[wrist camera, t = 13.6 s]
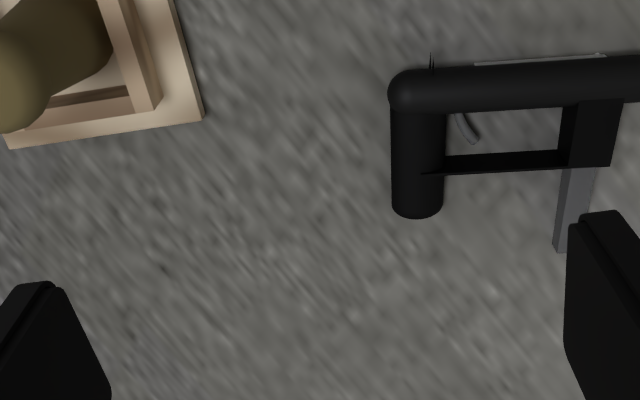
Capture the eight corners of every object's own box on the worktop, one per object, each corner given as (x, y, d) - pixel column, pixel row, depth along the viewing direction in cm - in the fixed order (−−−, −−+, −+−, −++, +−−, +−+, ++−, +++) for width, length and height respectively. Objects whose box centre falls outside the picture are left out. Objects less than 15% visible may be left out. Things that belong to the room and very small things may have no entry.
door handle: (664, 255, 44) (728, 42, 36) (391, 267, 46) (388, 65, 37) (645, 228, 47) (700, 25, 38) (388, 241, 48) (384, 46, 40)
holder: (-80, -67, 36) (-120, -58, 33) (142, -110, 35) (122, -106, 32) (17, 142, 43) (-9, 165, 40) (205, 113, 42) (194, 135, 39)
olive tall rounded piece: (94, -27, 36) (8, 19, 27) (127, 70, 39) (61, 142, 30) (0, -9, 37) (-116, 43, 27) (41, 85, 40) (-52, 160, 30)
